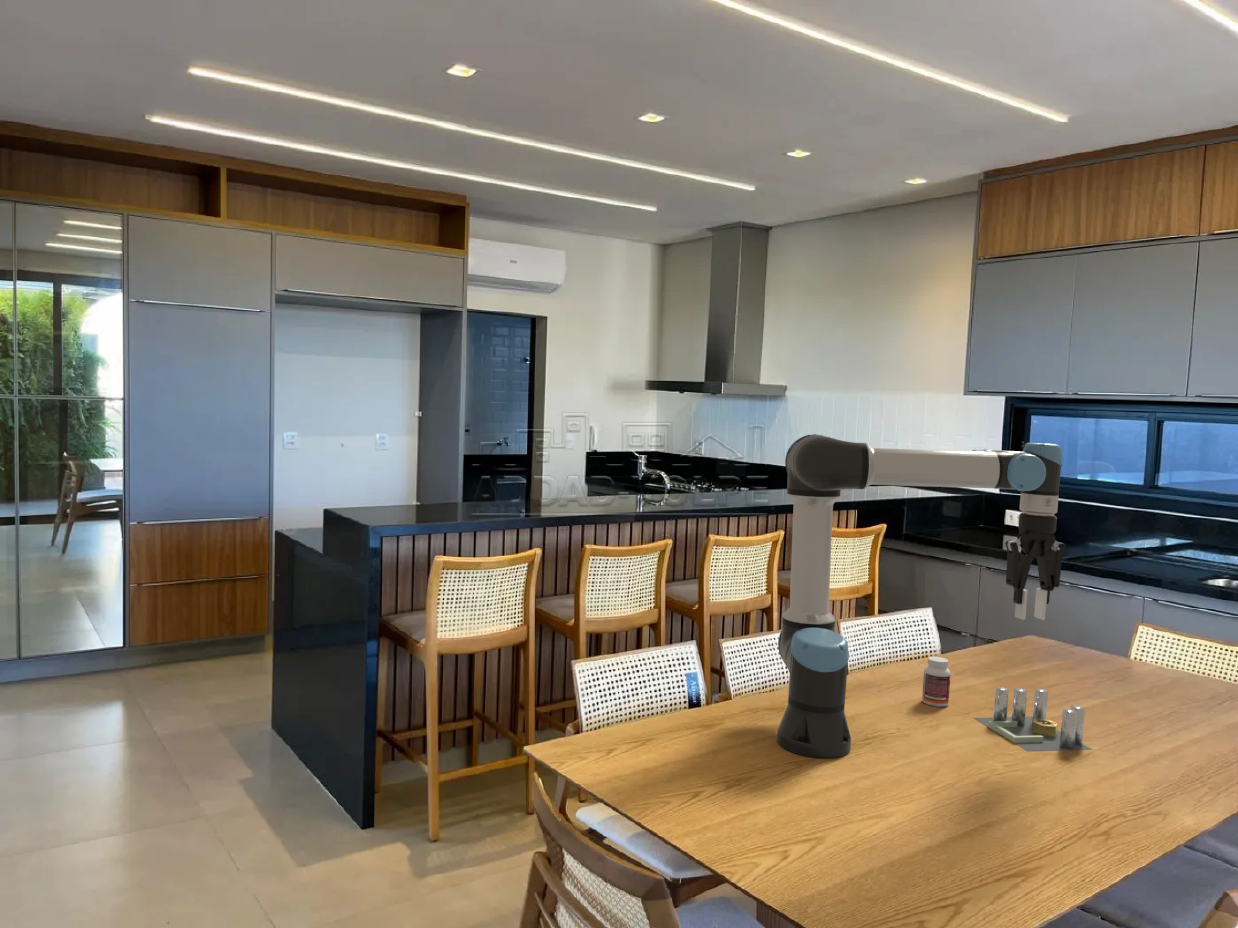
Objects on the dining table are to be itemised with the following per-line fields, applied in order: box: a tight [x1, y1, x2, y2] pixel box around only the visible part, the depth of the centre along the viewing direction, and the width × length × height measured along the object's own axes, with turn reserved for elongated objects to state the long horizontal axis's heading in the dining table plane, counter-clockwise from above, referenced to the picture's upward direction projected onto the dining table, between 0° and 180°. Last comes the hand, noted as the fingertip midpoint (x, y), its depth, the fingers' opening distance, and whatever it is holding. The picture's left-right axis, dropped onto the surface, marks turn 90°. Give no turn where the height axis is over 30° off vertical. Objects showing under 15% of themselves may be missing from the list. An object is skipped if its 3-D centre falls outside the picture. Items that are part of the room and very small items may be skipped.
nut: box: [1032, 718, 1059, 738], centre depth 199 cm, size 5×5×3 cm
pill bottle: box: [921, 656, 952, 708], centre depth 218 cm, size 6×6×11 cm
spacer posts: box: [992, 686, 1086, 751], centre depth 198 cm, size 12×18×8 cm
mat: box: [973, 716, 1093, 752], centre depth 199 cm, size 16×20×1 cm
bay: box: [986, 721, 1043, 744], centre depth 197 cm, size 7×10×1 cm
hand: (1029, 618), depth 196 cm, fingers open, 4 cm apart
